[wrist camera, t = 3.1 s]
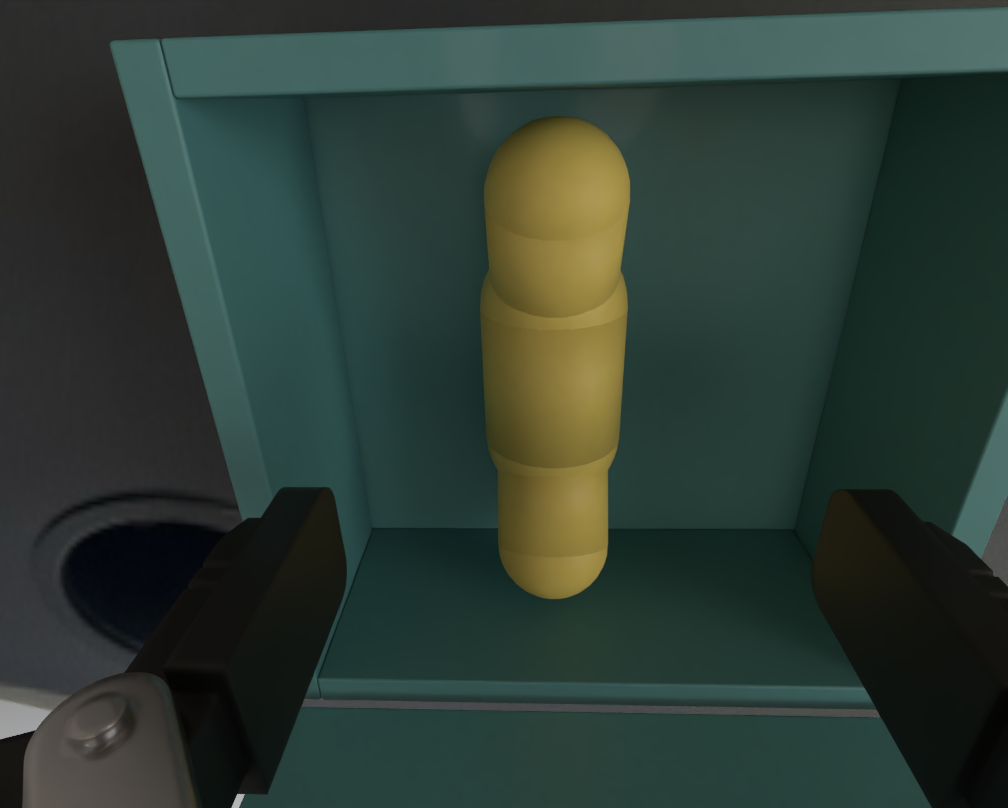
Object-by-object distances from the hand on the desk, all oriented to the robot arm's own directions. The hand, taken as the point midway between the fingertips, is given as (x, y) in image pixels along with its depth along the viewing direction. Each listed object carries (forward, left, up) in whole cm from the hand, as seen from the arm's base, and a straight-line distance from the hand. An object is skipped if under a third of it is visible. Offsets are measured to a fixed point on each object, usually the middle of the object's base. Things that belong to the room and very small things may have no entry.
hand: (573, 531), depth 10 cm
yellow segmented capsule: (0, 0, -8) cm, 8 cm away
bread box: (+1, 0, -9) cm, 9 cm away
